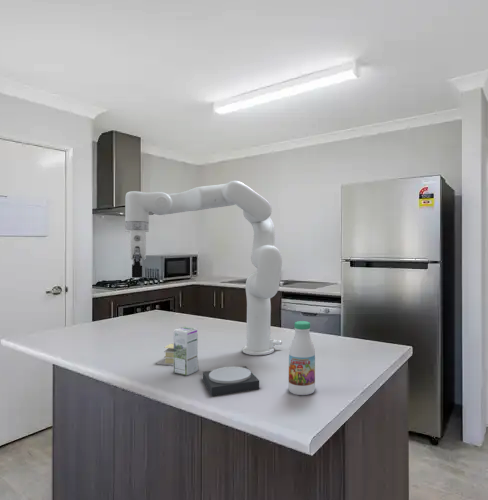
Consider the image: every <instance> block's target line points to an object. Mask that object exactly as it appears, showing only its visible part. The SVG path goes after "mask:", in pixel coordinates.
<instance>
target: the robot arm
mask: <svg viewBox="0 0 488 500" xmlns="http://www.w3.org/2000/svg"><path fill="white" fill-rule="evenodd" d="M124 201H125V202H124V203H125V204H124V205H125V206H124V207H125V208H124V209H125V210H124V212H125V214H124V219H125V220H124V221H125V223H124V225H125V227H124V229H125V230H124V231H125V232H128V241H129V242H128V246H129V247H128V249H129V256H130V258H129V259H130V260H131V261H132V264H131V278H133V279H139V278H143V265H142V259H143V260H144V261H146V259H147V237H146V236H147V234H146V233H149V231H150V227H149V226H150V223H149V221H150V216H149V215H150V213H152V214H153V215H157V216H166V215H171V214H172V215H173V214H179V213H185V212H197V211H203V210H209V209H217V208H223V207H230V206H237V207H238V208H239V209H240V210H242V214H243V217H244V218H245V220H246V221H248V222H249V223H250V225H251V227H252V229H253V238H252V239H253V241H252V247H251V254H250V255H251V256H250V261H251V264H252V265H253V266H254V267H255V268H256V271H255V272H252V273H251V274H249V275H248V277H247V279H246V280H245V295H246V345H245V346H243V347H242V353H244V354H246V355H250V356H265V355H270V354H272V353H274V352H275V346H282V345H283V341H282V339H273V338H271V331H272V330H271V325H272V324H271V322H272V321H271V319H272V318H271V317H272V315H271V313H272V304H271V302H272V301H271V299H272V298H273V297H275V296H276V294H277V293H278V292H279V288H280V284H281V275H282V267H283V256H282V252H281V251H280V249H279V248H278V247H276V246H275V239H276V237H275V236H276V228H275V223H274V221H273V220H272V217H271V215H272V212H273V211H272V210H273V209H272V205H271V203H270V202H269V200H268V199H266V198H265V197H264V196H262V195H261V194H259V193H258V192H256V190H254V189H252V188H251V187H250V186H249V185H247V184H245V183H243V182H242V181H240V180H230V181H229V182H227V183H221V184H220V183H219V184H212V185H203V186H202V185H201V186H196V187H193V188H191V189H188V190H185V191H181V192H175V193H166V192H164V191H152V192H144V191H139V190H133V191H128V192H126V193H125V199H124Z"/></svg>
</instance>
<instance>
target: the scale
mask: <svg viewBox="0 0 488 500" xmlns="http://www.w3.org/2000/svg"><path fill="white" fill-rule="evenodd" d="M202 381H203V382H204V384H205V386H206V388H207V390H208V392H209V394H210V396H211V397H215V396H216V397H217V396H223V395H228V394H235V393H242V392H247V391H255V390H260V379H259V378H258V377H257V376H256V375H255V374H254V373H253V372H252V371H251V370H250V369H249V368H248V366H246V365H245V366H223V367H219V368H215V369H212V370H206V371H202Z"/></svg>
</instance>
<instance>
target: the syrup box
mask: <svg viewBox="0 0 488 500" xmlns="http://www.w3.org/2000/svg"><path fill="white" fill-rule="evenodd" d="M198 329H199V328H197V327H189V326H181V327H178V328H175V329H173V343H174V365H173V373H174V374H178V375H182V376H189V375H192V374H193V373H196V372H198V371H199V370H198V369H199V368H198V367H199V366H198V363H199V362H198V361H199V359H198V358H199V357H198V355H199V354H198V353H199V350H198V347H199V346H198V343H199V342H198V341H199V339H198V338H199V337H198V336H199V330H198Z"/></svg>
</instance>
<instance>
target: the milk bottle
mask: <svg viewBox="0 0 488 500" xmlns="http://www.w3.org/2000/svg"><path fill="white" fill-rule="evenodd" d="M293 324H294V325H293V327H294V335H293V339H292V340H291V343H290V346H289V349H288V350H289V351H288V391H289V392H290V393H291V394H292V395H296V396H308V395H311V394H313V393H314V392H315V390H316V350H315V349H316V348H315V345H314V342H313V340H312V338H311V335H310V331H311V322H310V321H305V320H298V321H295V322H294V323H293Z"/></svg>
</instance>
